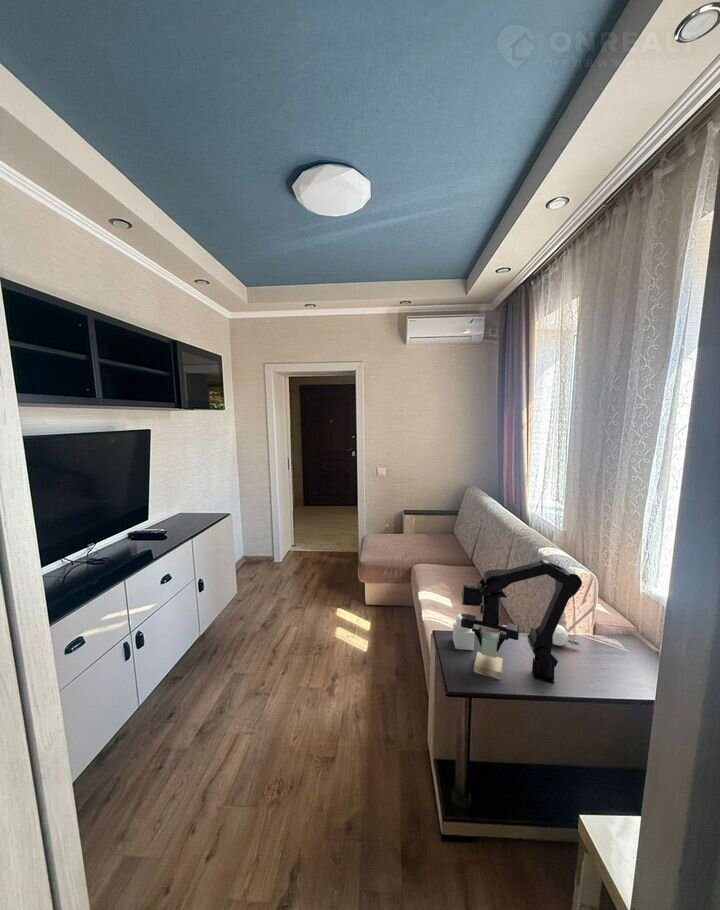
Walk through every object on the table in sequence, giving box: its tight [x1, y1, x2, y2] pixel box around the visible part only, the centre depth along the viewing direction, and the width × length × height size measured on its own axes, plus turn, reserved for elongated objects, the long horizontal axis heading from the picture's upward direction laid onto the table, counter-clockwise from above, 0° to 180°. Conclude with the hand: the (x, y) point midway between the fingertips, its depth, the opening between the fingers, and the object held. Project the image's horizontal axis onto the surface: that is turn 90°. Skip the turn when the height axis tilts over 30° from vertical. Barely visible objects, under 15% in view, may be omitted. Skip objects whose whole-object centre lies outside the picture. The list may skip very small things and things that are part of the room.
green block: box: [480, 631, 499, 658], centre depth 132 cm, size 5×5×6 cm
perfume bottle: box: [553, 624, 580, 647], centre depth 149 cm, size 8×8×12 cm
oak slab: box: [473, 651, 504, 680], centre depth 133 cm, size 9×9×3 cm
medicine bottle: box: [452, 613, 475, 651], centre depth 147 cm, size 7×7×12 cm
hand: (489, 649), depth 132 cm, fingers closed on green block, 5 cm apart
